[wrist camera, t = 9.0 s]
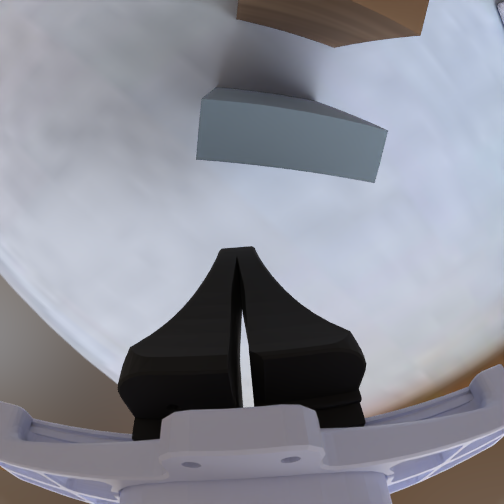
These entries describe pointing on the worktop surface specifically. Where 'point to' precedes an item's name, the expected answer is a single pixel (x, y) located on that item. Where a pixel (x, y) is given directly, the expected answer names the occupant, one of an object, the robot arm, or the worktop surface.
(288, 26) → the domino
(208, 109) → the placed domino
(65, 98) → the worktop surface
